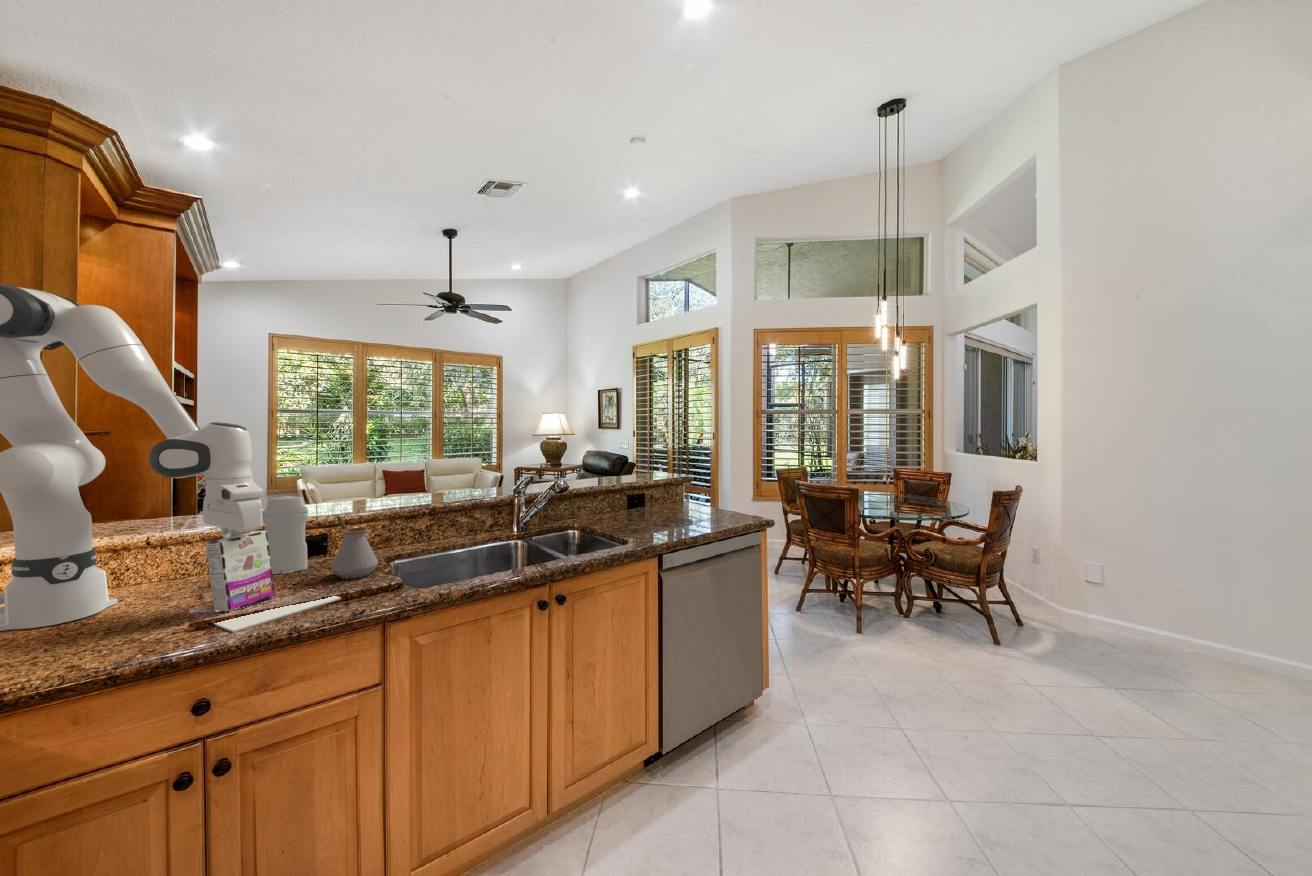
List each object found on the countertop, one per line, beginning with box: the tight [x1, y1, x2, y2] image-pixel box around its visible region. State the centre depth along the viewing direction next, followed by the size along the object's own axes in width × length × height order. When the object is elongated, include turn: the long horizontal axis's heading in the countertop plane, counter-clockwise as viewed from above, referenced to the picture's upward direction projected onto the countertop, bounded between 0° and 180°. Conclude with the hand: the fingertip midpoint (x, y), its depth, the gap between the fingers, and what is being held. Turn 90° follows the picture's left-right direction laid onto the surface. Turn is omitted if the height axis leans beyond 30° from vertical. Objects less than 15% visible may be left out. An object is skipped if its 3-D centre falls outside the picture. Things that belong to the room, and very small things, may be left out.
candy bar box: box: [204, 530, 276, 611], centre depth 120 cm, size 11×5×16 cm, turn 168°
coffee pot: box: [330, 515, 379, 579], centre depth 147 cm, size 21×12×15 cm, turn 48°
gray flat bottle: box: [261, 495, 309, 576], centre depth 145 cm, size 11×4×22 cm, turn 130°
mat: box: [214, 588, 342, 633], centre depth 117 cm, size 13×22×1 cm, turn 153°
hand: (231, 545), depth 123 cm, fingers closed
